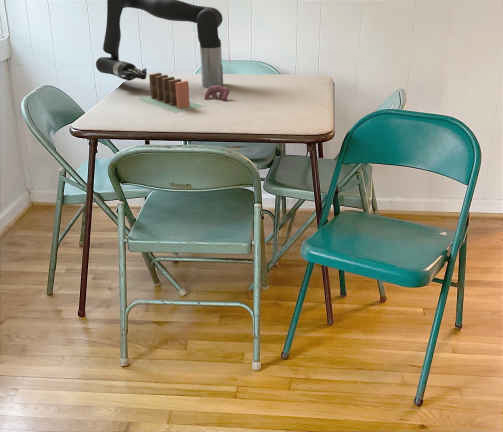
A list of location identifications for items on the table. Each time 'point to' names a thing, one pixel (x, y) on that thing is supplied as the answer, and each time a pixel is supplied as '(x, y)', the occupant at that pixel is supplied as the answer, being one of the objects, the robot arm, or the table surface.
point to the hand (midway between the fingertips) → (144, 76)
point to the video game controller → (217, 88)
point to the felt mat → (168, 106)
